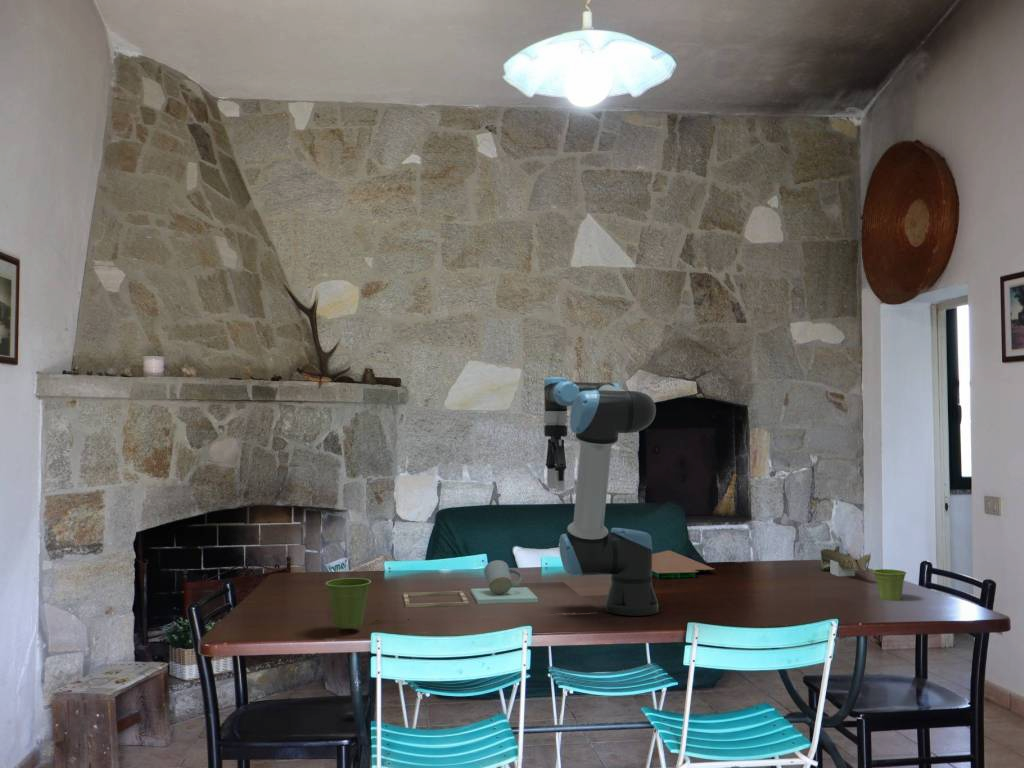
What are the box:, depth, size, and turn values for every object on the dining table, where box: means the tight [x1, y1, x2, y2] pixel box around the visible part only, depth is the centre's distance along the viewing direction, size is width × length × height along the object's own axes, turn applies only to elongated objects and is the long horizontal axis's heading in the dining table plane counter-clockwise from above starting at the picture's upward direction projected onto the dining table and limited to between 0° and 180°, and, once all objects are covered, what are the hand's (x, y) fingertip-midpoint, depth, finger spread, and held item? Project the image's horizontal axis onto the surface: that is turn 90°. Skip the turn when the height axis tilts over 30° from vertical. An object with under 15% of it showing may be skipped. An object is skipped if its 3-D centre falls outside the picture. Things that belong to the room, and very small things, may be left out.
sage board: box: [470, 586, 539, 605], centre depth 269 cm, size 18×18×1 cm
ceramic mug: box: [483, 559, 523, 594], centre depth 269 cm, size 11×8×8 cm
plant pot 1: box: [325, 577, 372, 629], centre depth 231 cm, size 12×12×11 cm
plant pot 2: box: [872, 568, 907, 602], centre depth 268 cm, size 9×9×9 cm
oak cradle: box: [402, 590, 470, 608], centre depth 264 cm, size 18×18×1 cm
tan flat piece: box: [652, 549, 715, 579], centre depth 318 cm, size 23×33×8 cm
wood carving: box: [820, 545, 872, 577], centre depth 304 cm, size 9×35×11 cm, turn 4°
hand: (555, 489), depth 287 cm, fingers open, 13 cm apart
